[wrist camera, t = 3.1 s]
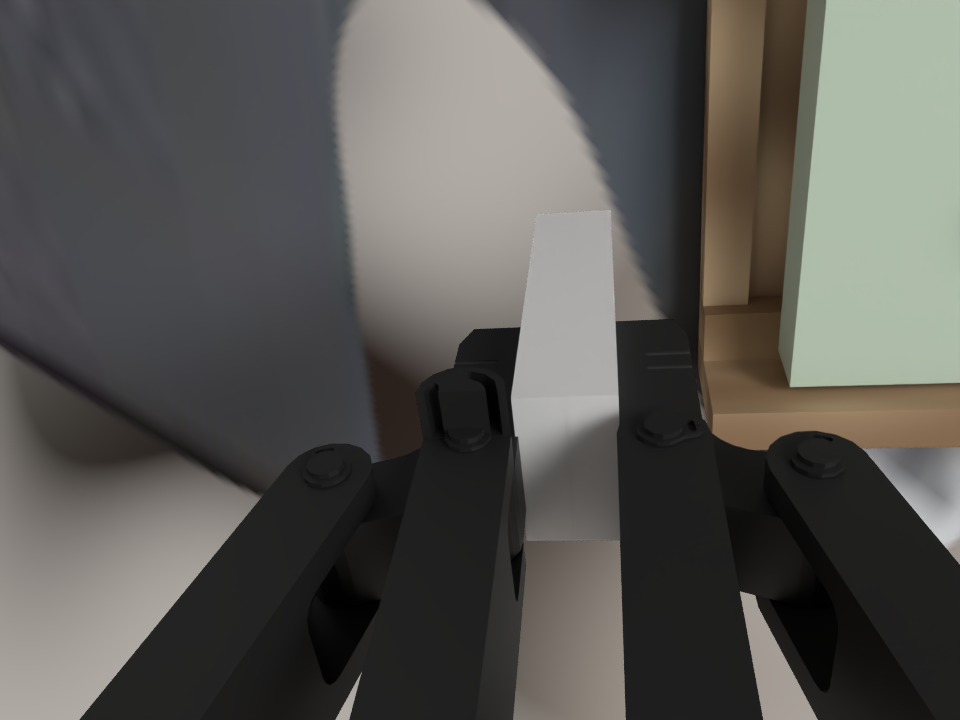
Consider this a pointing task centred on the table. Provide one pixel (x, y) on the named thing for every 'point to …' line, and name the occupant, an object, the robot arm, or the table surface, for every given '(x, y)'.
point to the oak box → (774, 253)
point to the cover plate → (875, 197)
